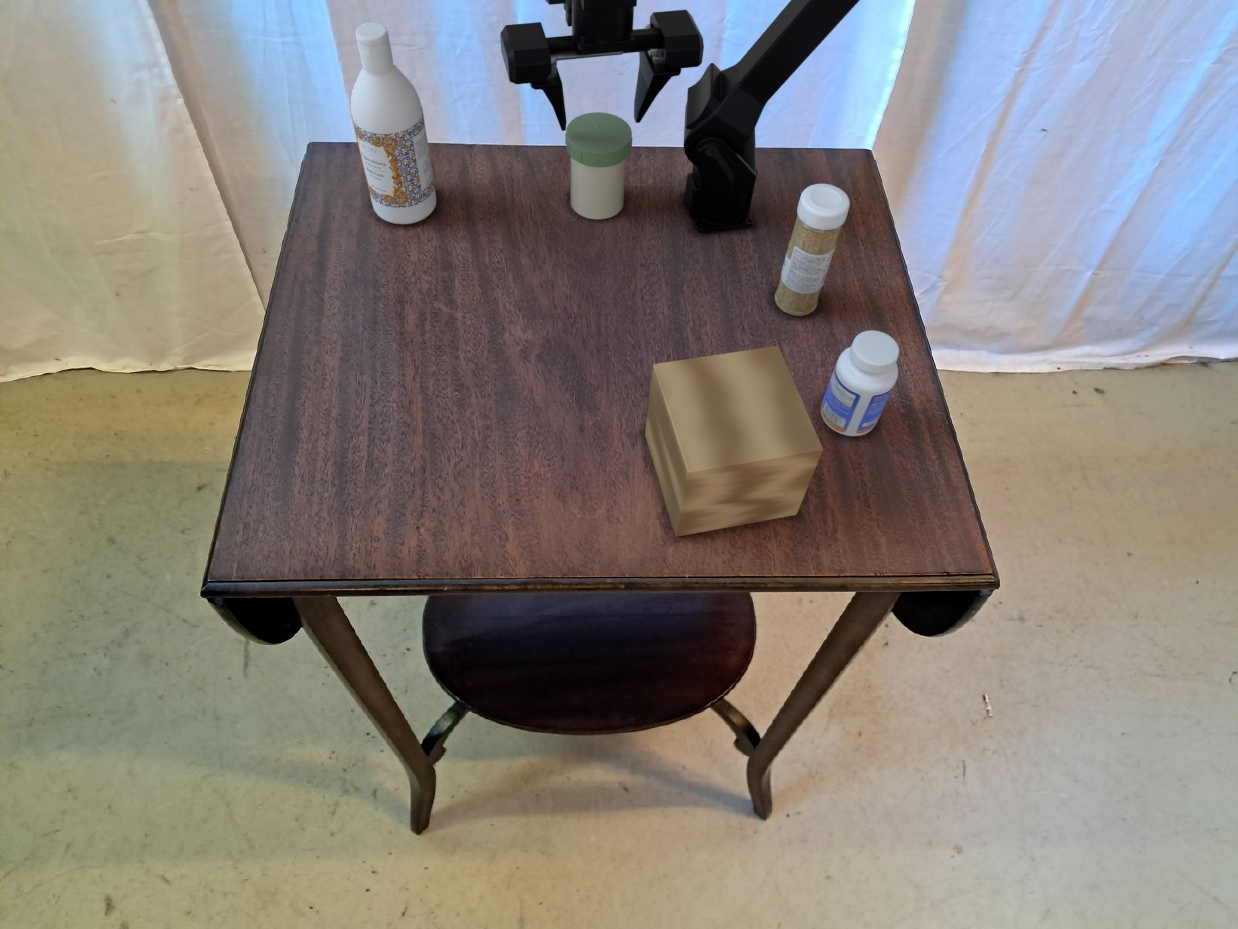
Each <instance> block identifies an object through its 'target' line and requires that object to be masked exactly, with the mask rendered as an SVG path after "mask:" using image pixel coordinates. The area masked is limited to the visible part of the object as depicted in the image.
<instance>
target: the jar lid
mask: <svg viewBox="0 0 1238 929" xmlns="http://www.w3.org/2000/svg"><path fill="white" fill-rule="evenodd" d="M564 136H565V137H564V138H565V139H564V140H565V141H564V142H565V143H564V144H565V148H566V151H567V154H568V155H569V157H570V156H571V157H572V158H573V159H574V160H575V161H577V162H579V163H581V164H583V165H586V166H591V167H610V166H614V165H617V164H619V163H621V162H622V161H624V160H625V159H626V160H627V159H628V157H629V156H630V154H631V151H632V149H633V138H634V137H633V132H632V128H631V126H630V125H629V123H628V122H627V121H626V120H625V119H623V118H622V117H620V116H617V115H615V114H612V113H609V112H608V113H607V112H600V111H598V112H597V111H596V112H587V113H583V114H580V115H578V116H576V117H574V118H573V119H572V120H571V121H569V123H568V124H567V125H566V130H565V134H564Z"/></svg>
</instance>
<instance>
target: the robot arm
mask: <svg viewBox="0 0 1238 929" xmlns="http://www.w3.org/2000/svg"><path fill="white" fill-rule="evenodd" d="M544 1H545V2H546V3H547V4H548V5H550V6H551V5H552V6H553V5H562V4H563V10H564V11H565V22H566V26H567V27H568V28H569V27H570V28H571V35H562V36H561V35H559V36H548V37H546V33H545V30H544V27H543V24H542V22H541V21H538V22H537V21H536V22H525V23H514V24H505V26H504V27H503V29H502V30H501V31H500V34H499V40H500V51H501V55H502V60H503V62H504V66H505V70H506V73H507V74H506V75H507V77H508V81H509V82H510V83H512V84H514V85H524V84H525V85H526V84H529V85H530V88H531V89H533V90H536V91H538V90H541V91H542V92H543V93H544V95H545V96H546V98H547V100H548V101H549V103H550V105H551V106H552V108H553V111H554V114H555V116H556V119H557V122H558V124H559V127H560V129H561V131H562V132H564V131H565V132H566V129H567V114H566V113H567V112H566V106H565V105H566V104H565V103H566V102H565V96H564V95H565V94H564V88H563V82H562V81H563V80H562V78H561V75H560V73H559V72H560V71H559V69H558V62H559V61H568V60H579V59H589V58H590V59H591V58H601V57H610V56H621V55H623V54H633V53H638V57H639V58H638V60H639V61H638V62H639V64H638V73H637V78H636V79H637V80H636V87H635V93H634V95H635V96H634V101H633V120H634V122H635V123H636V124H640V123H641V121H642V120H643V118H644V117H645V115H646V114H647V112H648V110H649V109H650V107H651V105H653V102H654V101H655V100H656V98H657V96H658V95H659V94H660V93H661V91H662V90H663V89H664V87H665V86H666V85H667V84H668V82H670V80H671V79H672V78H674V77H678V76H680V75H681V73H682V69H690V68H699V67H700V65H701V64H703V58H704V50H705V49H704V48H705V44H704V43H705V42H704V37H703V35H702V34H701V32H700V28H699V27H698V25H697V23H696V21H695V19H694V17H693V16H692V14H691V13H690V12H689V10H688V9H677V10H666V11H665V10H664V11H653V12H652V13H651V14H650V16H649V24H646V26H645V27H644V28H634V19H635V18H634V16H635V8H636V7H638V6H637V5H638V4H637V3H638V0H544ZM860 1H861V0H790V1H789V2H788V3H787V4H786V5H785V6H784V8H783V9H782V10H781V11H780V13H779V14H778V15H777V16H776V17H775V18H774V20H773V21H771V23H770V24H769V26H768V27H767V28H766V29H765V31H764V32H762V33H761V35H760V36H759V37H758V38H757V40H756V41H755V42H754V43H753V44H752V46H751V47H750V48H749V49H748V50H747V51H746V52H745V54H744V55H743V56H742V57H741V59H740V60H739V61H738V62H736V64H734V65H731V66H729V67H727V68H724V69H722V70H721V69H720V68H719V67H718V66H717V65H716V64H715V63H714V62H710V63H709V64H708V65H707V67H706V68H705V71H704V72H703V73H702V75H701V77H700V79H698V81H697V82H695V83H694V84H692V85H691V86H690V87H688V88H687V94H686V95H687V96H686V97H687V98H686V103H685V106H684V107H685V110H684V127H683V152H684V154H685V156H686V158H687V160H688V161H689V162H690V163H691V164H692V171H691V172H688V173H687V175H686V182H685V189H684V191H685V192H684V193H683V205H684V207H685V210H686V212H687V215H688V217H689V218H690V219H691V220H692V222H693V225H694V227H695V230H696V232H698V233H700V234H705V233H712V232H721V231H729V230H737V229H744V228H745V229H746V228H752V227H753V226H754V222H755V220H754V218H753V216H752V214H751V212H750V210H751V205H752V200H753V195H754V190H755V186H756V182H757V175H758V169H757V155H756V154H757V151H756V149H757V148H756V144H757V143H756V127H757V124H758V122H759V119H760V118H761V116H762V113H763V112H764V111H763V110H764V108H765V107H766V105H767V103H768V102H769V101H770V100H771V98H772V97H773V96H774V95H775V94H776V93H777V92H778V91H779V89H780V88H781V87H783V85H784V84H785V83H786V82H787V81H788V80H789V79H790V78H791V76H792V75H793V74H794V73H795V72H796V71H797V70H798V69H799V68H800V66H801V65H803V63H804V62H805V61H806V60H807V59H808V58H809V57H810V55H811V54H812V53H813V52H814V51H815V50H816V49H817V48H818V47H819V46H820V45H821V44H822V42H824V40H825V39H826V38H827V37H828V36H829V35H830V34H831V33H832V31H834V29H836V27H837V26H838V25H839V24H840V23H841V22H842V21H843V20H844V19H845V17H846V16H847V15H848V14H849V13H850V12H851V11H852V10H853V9H854V7H856V5H857V4H859V2H860Z"/></svg>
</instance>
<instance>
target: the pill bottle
mask: <svg viewBox="0 0 1238 929" xmlns="http://www.w3.org/2000/svg"><path fill="white" fill-rule="evenodd" d="M899 355H900V348H899V345H898V343H897V342H896V340H895V339H894V338H893V337H892V336H890V335H889V334H888V333H886V332H882V331H879V330H872V329H871V330H864V331H861V332H860V333H859V334H857V335H856V336H855V337H854V339H853V342H852V344H851V345H850V346H849V347H847V348H845V349H844V350H843V351H842V352H841V353H840V355H839V356H838V359H837V361H836V363H835V366H834V369H833V372H832V374H831V377H830V380H829V382H828V385H827V388H826V390H825V392H824V396H823V399H822V402H821V406H820V414H821V418H822V420H823V421H824V423H825V425H827V426H828V427H829V428H830V429H831V430H833V431H834V432H835V433H838V434H841V435H842V436H843V435H844V436H848V437H859V436H863V435H866V434H868V433H870V432H871V431H872V430H873V429H874V428H875V426H876V425H877V424H878V421H879V419H880V417H881V415H882V413H883V411H884V408H885V407H886V404H887V402H888V400H889V398H890V396H891V394H892V391H893V389H894V387H895V385H896V382H897V380H898V377H899V367H898V364H897V361H898V359H899Z"/></svg>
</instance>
